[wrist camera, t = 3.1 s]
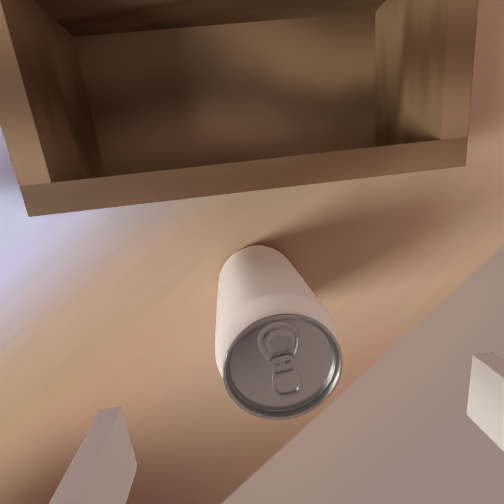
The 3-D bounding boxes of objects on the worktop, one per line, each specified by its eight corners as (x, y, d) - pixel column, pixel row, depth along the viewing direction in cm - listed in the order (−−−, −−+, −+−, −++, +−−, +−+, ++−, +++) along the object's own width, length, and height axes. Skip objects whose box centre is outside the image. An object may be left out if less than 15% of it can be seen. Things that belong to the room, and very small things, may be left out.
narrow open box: (387, 169, 24) (465, 165, 16) (96, 202, 22) (28, 216, 15) (388, -8, 21) (487, -118, 13) (51, 19, 19) (-65, -86, 12)
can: (287, 236, 24) (344, 291, 13) (299, 306, 26) (358, 410, 14) (210, 252, 24) (198, 323, 13) (227, 322, 26) (229, 440, 14)
